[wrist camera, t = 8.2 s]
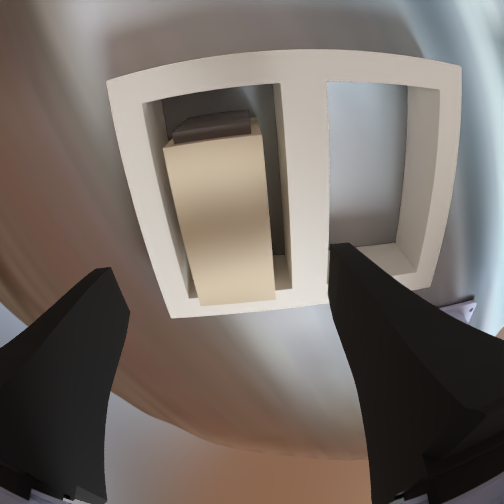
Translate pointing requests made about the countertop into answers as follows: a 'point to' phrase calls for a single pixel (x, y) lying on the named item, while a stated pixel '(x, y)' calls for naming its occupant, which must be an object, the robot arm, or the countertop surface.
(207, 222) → the beige boxy piece
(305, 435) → the countertop surface
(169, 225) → the white open frame
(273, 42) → the countertop surface
